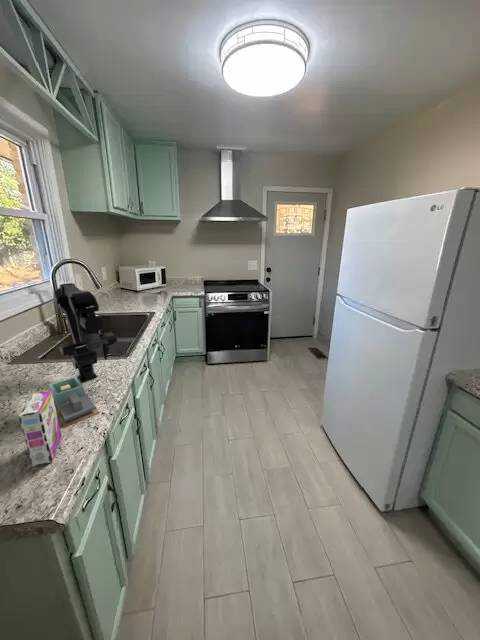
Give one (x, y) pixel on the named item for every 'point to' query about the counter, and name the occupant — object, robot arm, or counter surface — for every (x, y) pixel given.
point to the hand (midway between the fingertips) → (93, 363)
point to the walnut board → (75, 420)
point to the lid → (76, 406)
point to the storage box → (66, 389)
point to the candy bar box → (40, 428)
